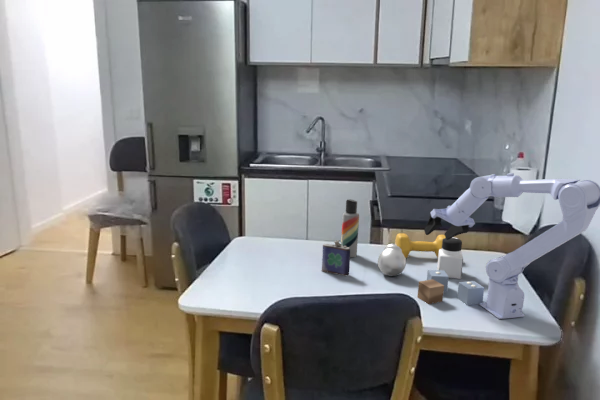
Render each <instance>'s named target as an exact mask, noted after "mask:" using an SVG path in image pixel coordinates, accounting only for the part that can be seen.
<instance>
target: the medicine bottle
mask: <svg viewBox="0 0 600 400" xmlns="http://www.w3.org/2000/svg"><path fill="white" fill-rule="evenodd" d="M462 247H463V241H462V240H461V239H460V238H457V237H455V236H454V237H452V238H450V239H448V240H447V239H446V238H444V239H443V240H442V249H439V255H438V257H437V267H436V270H444V271H445V272H446V274H447V275H448V279H455V280H457V279H459V280H461V279H462V273H463V264H464V256H463V252H462Z"/></svg>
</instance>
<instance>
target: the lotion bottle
mask: <svg viewBox="0 0 600 400" xmlns="http://www.w3.org/2000/svg"><path fill="white" fill-rule="evenodd" d="M341 219H342V224H341V238H340V239H341V240H340V244H341V245H343V246H346V247H349V248H350V259H351V258H355V257H357V254H358V241H359V226H360V225H359V223H360V213H358V200H355V199H349V198H347V200H346V201H345V211H344V212H343V213H342V218H341Z"/></svg>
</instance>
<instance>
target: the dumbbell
mask: <svg viewBox="0 0 600 400" xmlns="http://www.w3.org/2000/svg"><path fill="white" fill-rule="evenodd" d="M444 238H446V237H445V234H438V235H437V236H436V238H435V240H434V241H417V240H415V241H414V240H413V241H412V240H411V239H410V237H409V235H407V233H403V232H399V233H397V234H396V236H395V240H394V244H395V245H396V246H399V247H400V248H401V249H402V253H403V254H404V256H405V259H407V258H409V254H410V253H411V252H423V253H426V252H427V253H429V252H430V253H431V252H433V253H434V254H435V256H436V258H438V255H439V249H442V240H443V239H444Z"/></svg>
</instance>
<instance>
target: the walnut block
mask: <svg viewBox="0 0 600 400" xmlns="http://www.w3.org/2000/svg"><path fill="white" fill-rule="evenodd" d="M417 285H418V287H417V298H418V299H419V300H421V301H423V302H424V303H425V302H426V303H425V304H426V305H432V303H433V304H438V303H437V302H439V303H442V302H443V300H444V293H445V292H444V285H442V284H440V283H439V282H437V281H435V280H433V279H431V280H427V279H426V280H420V281H418V284H417Z"/></svg>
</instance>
